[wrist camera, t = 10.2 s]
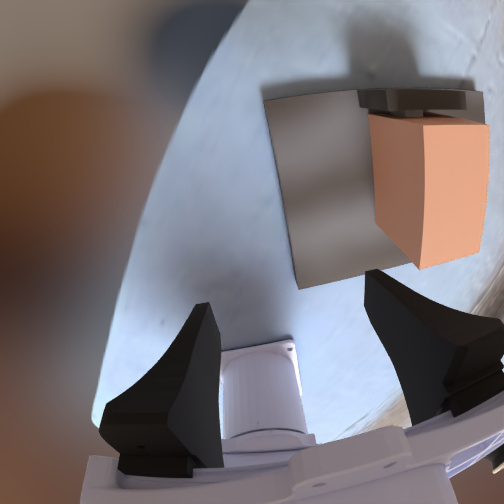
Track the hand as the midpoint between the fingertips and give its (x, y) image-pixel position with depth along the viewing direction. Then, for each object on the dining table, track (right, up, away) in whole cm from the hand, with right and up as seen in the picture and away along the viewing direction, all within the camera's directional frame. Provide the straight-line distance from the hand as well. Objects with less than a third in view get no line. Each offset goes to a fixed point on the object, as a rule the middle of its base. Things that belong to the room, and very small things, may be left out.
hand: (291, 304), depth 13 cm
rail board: (+9, +8, +7) cm, 14 cm away
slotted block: (+9, +8, +6) cm, 13 cm away
